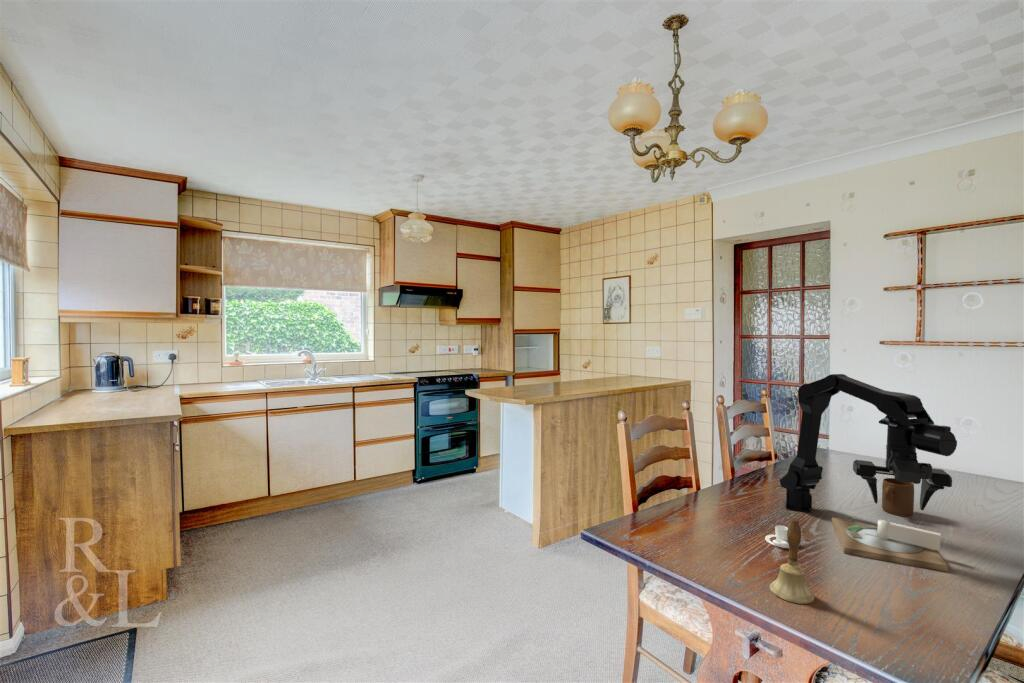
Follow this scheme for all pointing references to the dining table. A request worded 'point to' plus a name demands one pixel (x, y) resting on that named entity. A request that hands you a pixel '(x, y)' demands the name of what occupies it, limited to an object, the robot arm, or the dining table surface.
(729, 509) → the dining table surface
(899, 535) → the dial pointer lever
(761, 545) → the dining table surface
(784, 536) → the teacup and saucer
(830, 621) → the dining table surface
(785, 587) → the hand bell
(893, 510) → the mug
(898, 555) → the tuner board
